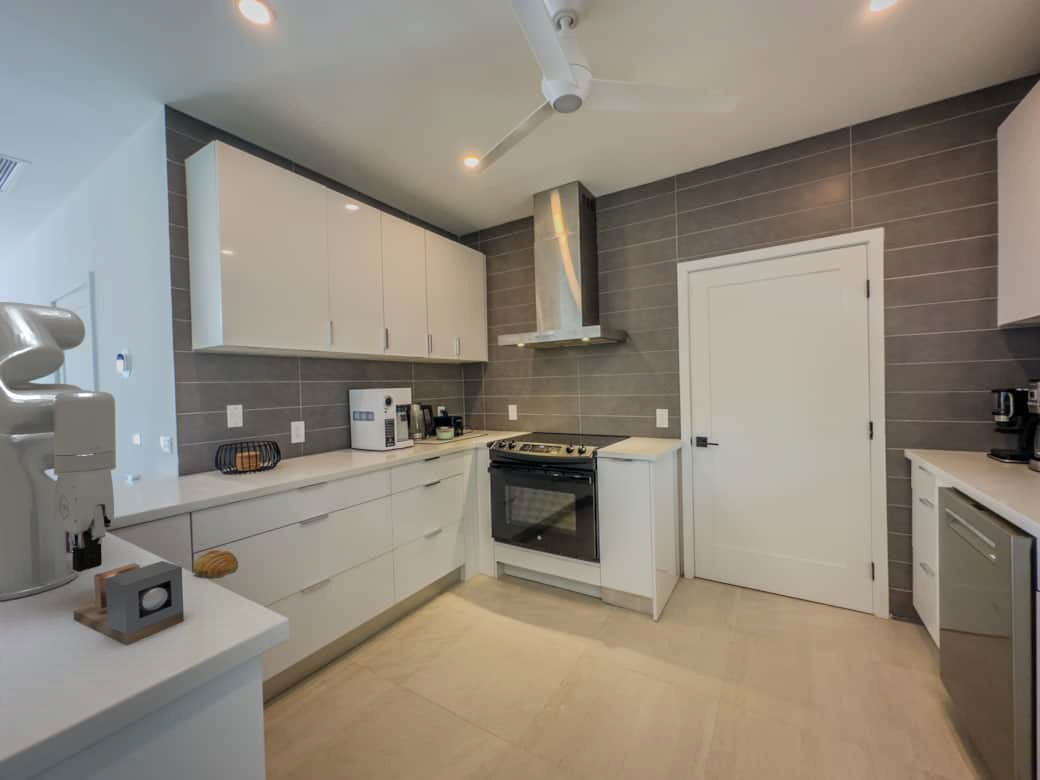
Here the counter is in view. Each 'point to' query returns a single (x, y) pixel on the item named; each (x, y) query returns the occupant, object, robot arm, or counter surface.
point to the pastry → (215, 564)
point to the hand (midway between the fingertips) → (87, 567)
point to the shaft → (147, 597)
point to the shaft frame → (136, 604)
